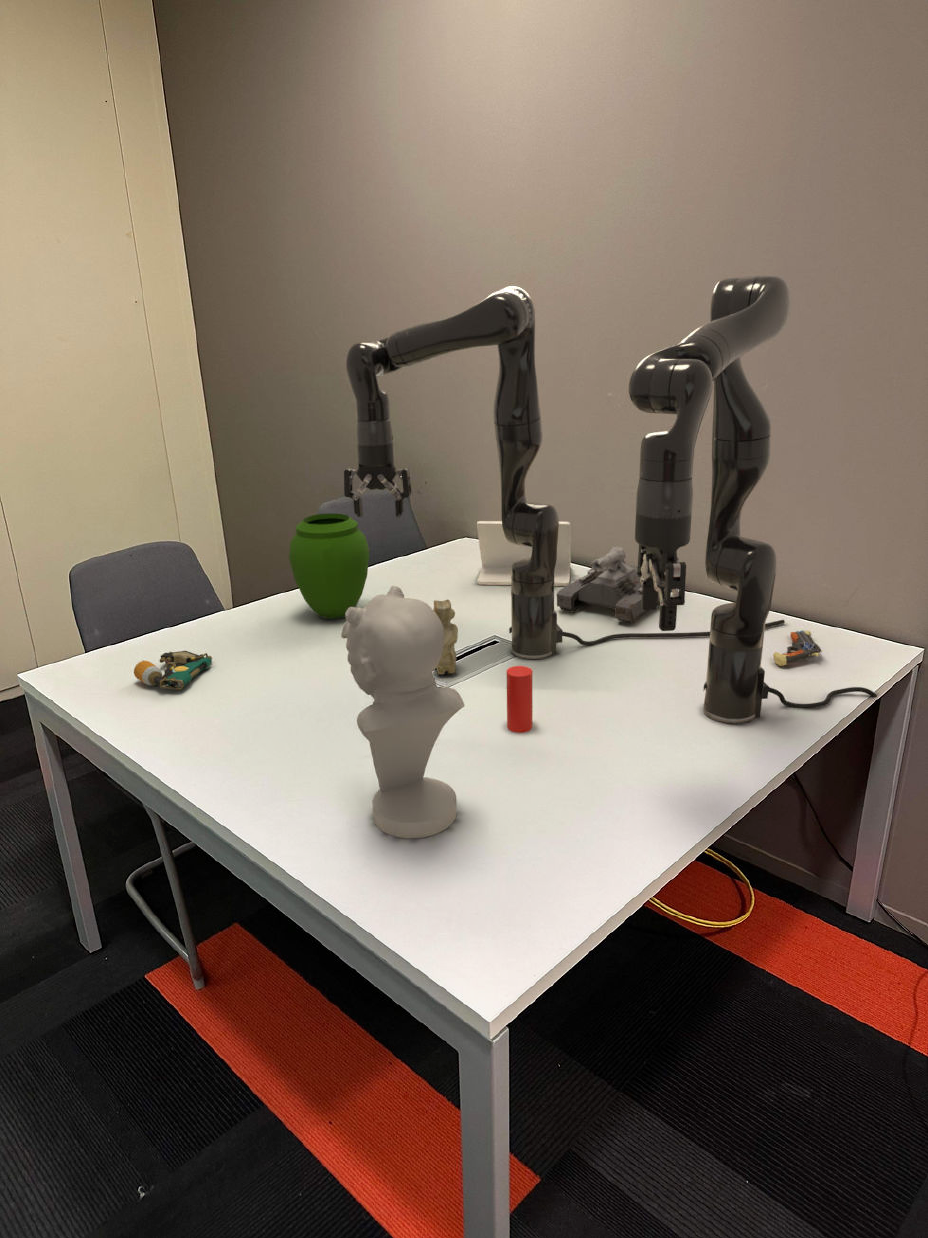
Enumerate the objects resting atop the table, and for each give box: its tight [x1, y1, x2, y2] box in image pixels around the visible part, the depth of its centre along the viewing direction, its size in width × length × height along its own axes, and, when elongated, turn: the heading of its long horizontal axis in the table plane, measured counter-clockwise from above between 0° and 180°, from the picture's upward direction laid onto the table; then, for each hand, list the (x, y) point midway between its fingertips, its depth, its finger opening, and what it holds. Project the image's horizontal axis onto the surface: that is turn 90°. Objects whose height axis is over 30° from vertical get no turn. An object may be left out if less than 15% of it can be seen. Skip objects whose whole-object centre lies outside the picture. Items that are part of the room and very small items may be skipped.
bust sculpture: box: [340, 585, 465, 839], centre depth 128 cm, size 16×24×35 cm, turn 28°
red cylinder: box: [505, 665, 534, 734], centre depth 153 cm, size 5×5×11 cm
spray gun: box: [133, 650, 213, 690], centre depth 180 cm, size 4×17×15 cm
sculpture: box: [433, 599, 459, 675], centre depth 177 cm, size 6×7×15 cm
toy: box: [556, 546, 672, 624], centre depth 212 cm, size 25×20×15 cm
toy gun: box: [772, 630, 823, 667], centre depth 183 cm, size 3×19×10 cm
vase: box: [288, 512, 370, 620], centre depth 209 cm, size 20×20×24 cm
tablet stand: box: [476, 520, 572, 587], centre depth 236 cm, size 18×25×17 cm
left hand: (379, 516), depth 185 cm, fingers open, 8 cm apart
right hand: (657, 619), depth 123 cm, fingers open, 8 cm apart
